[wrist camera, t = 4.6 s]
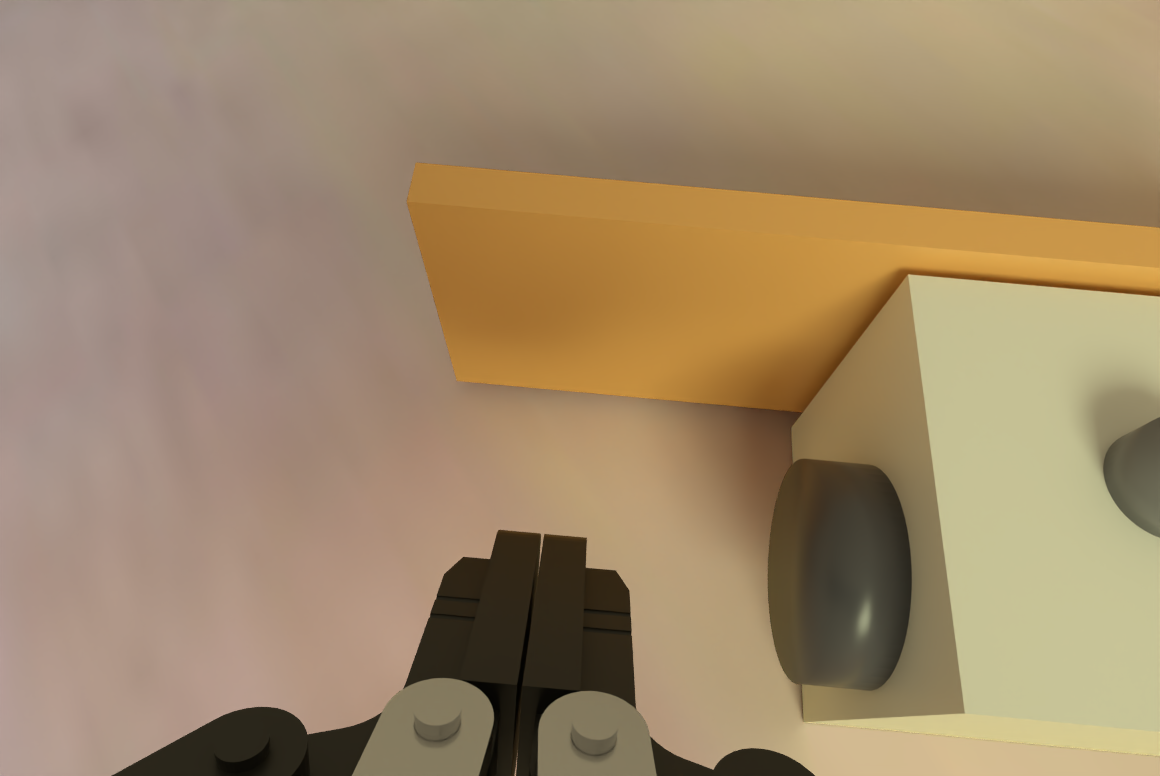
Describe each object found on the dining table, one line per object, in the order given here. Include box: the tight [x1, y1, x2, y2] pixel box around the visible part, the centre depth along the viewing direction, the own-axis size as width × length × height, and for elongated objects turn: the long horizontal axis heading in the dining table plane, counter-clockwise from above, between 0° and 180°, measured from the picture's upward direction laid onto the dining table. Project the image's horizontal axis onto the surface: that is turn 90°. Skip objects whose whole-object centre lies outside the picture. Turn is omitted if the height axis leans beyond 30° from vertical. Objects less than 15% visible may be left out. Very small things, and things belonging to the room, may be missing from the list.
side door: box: [407, 163, 1160, 412], centre depth 18 cm, size 26×2×8 cm, turn 85°
